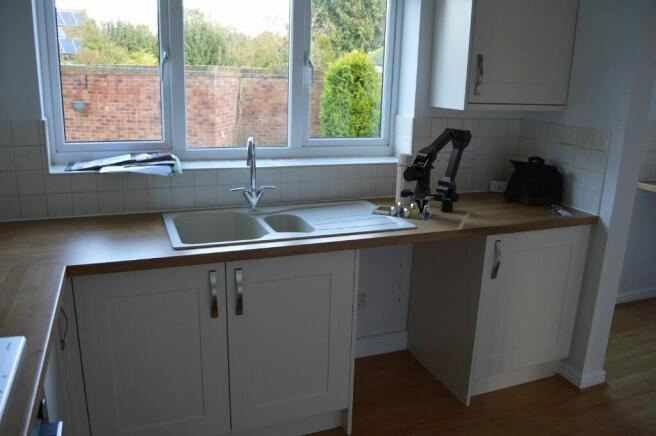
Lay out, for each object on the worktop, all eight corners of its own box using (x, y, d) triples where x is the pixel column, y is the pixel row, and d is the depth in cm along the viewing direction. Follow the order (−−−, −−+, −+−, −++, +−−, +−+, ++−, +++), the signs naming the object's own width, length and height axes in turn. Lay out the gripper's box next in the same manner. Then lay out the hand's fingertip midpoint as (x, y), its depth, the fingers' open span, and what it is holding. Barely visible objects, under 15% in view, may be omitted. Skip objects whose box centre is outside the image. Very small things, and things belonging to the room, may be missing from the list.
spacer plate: (379, 209, 248) (380, 199, 247) (432, 216, 239) (433, 205, 238) (371, 215, 236) (371, 205, 235) (426, 222, 227) (427, 211, 226)
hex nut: (406, 216, 234) (406, 209, 233) (408, 213, 239) (409, 206, 238) (416, 217, 232) (417, 210, 231) (419, 214, 237) (419, 207, 237)
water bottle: (413, 206, 256) (417, 155, 250) (399, 207, 253) (402, 155, 247) (404, 202, 264) (407, 152, 258) (390, 202, 262) (393, 153, 255)
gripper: (398, 180, 226) (396, 215, 230) (442, 184, 219) (438, 220, 224) (404, 176, 236) (402, 210, 240) (446, 180, 230) (443, 214, 234)
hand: (421, 213), depth 234 cm, fingers closed
